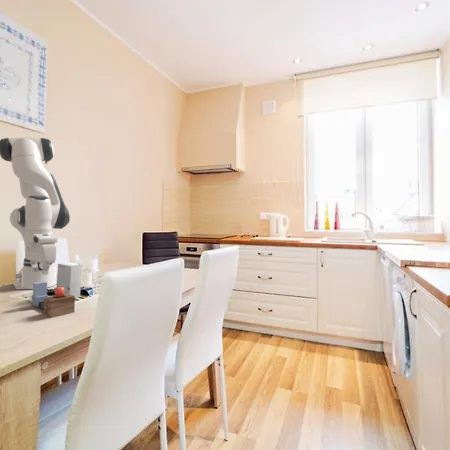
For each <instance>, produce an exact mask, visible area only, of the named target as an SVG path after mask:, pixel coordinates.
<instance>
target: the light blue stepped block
mask: <svg viewBox="0 0 450 450" xmlns="http://www.w3.org/2000/svg"><path fill="white" fill-rule="evenodd" d="M44 297H49V295H48V287H47V282H45V281H43V282H36V283H33V289H32V295H31V304H32V305H33V306H35V307H36V306H37V308H38V306H39V302H44Z"/></svg>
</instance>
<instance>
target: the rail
mask: <svg viewBox="0 0 450 450" xmlns="http://www.w3.org/2000/svg"><path fill="white" fill-rule="evenodd" d="M35 307H37V306H35ZM37 308H39V309H41V310H42V311H44V302H39V306H38V307H37Z"/></svg>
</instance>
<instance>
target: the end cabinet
mask: <svg viewBox="0 0 450 450" xmlns="http://www.w3.org/2000/svg"><path fill="white" fill-rule="evenodd" d="M75 300H76V298H75V296H73V295H70V294H68V293H66V294H64V296H63V297H55V295H50V296H48V297H44V310H43V313H44V315H45V316H47V317H49V318H51V319H53V318H56V317H60V316H63V315H69V314H72V313H75V310H76V309H75V306H76V305H75V302H76V301H75Z"/></svg>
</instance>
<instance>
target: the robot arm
mask: <svg viewBox="0 0 450 450" xmlns="http://www.w3.org/2000/svg"><path fill="white" fill-rule="evenodd" d="M54 155H55V146H54V144H53V143H52V141H51V140H50V139H48V138H44V137H41V138H40V137H32V136H31V137H30V136H28V137H27V136H25V137H11V138H9V137H5V138H1V139H0V157H1V159H2V160H3V161H6V162H10V163H11V167H12V170H13V174H14V176H16V177H17V178H18V179H19V186H20V193H21V196H22V198H24V199H25V204H24V205H22V206H21V207H18V208H14V209H13V210H12V211H11V213H10V214H9V215H10V216H9V222H10V224H11V226H13V228H15V229H16V230H17V231H18V232H19V233H20V235H21V237H22V239H23V242H24V258H23V264H22V267H21V269H20V270H19V272H18V273H16V274H15V279H16V280H15V281H13V282H12V285H13V287H14V288H15V290H33V283H36V282H43V281H45V282H47V288H50V287H51V288H52V287H54V286H56V285H57V272H56V267H55V266H54V265H53V264H55V262H56V260H57V244H56V243H58V237H57V235H55V234H54V232H53V229H56V230H62V229H64V228H65V227H67V226H68V224H69V223H70V221H71V219H70V216H71V215H70V213H69V209H68V208H67V206H66V204H65V202H64V200H63V196H62V193H61V192H60V189H59V186H58V183H57V180H56V179H55V177H54V175H53V174H52V173H51V172H49V171H48V170H47V169H46V168H45V166H44V164H43V162H44V163H45V165H48V162H50V161H52V159H53V158H54Z"/></svg>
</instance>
